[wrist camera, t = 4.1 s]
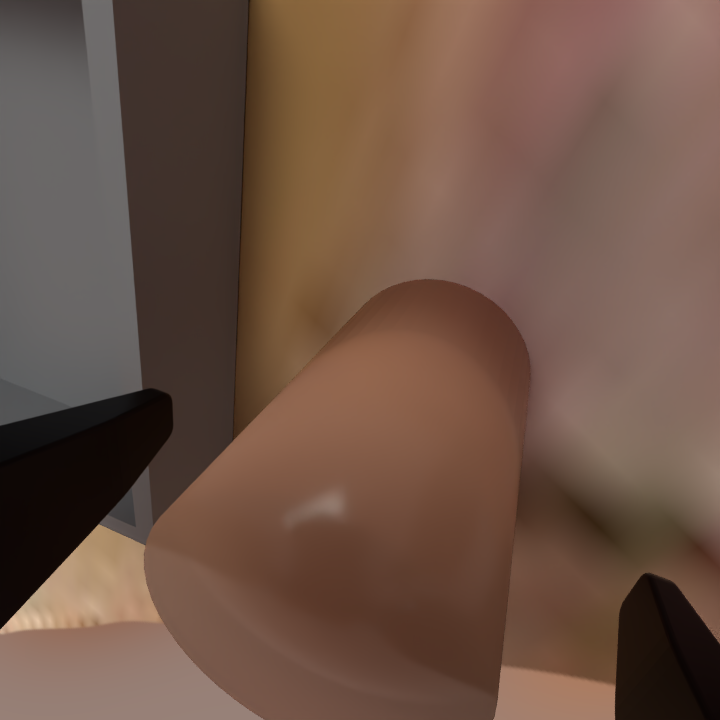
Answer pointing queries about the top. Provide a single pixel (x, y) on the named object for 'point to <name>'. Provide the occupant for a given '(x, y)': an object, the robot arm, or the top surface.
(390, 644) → the terracotta cylinder
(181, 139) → the bin
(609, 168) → the top surface
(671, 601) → the robot arm
